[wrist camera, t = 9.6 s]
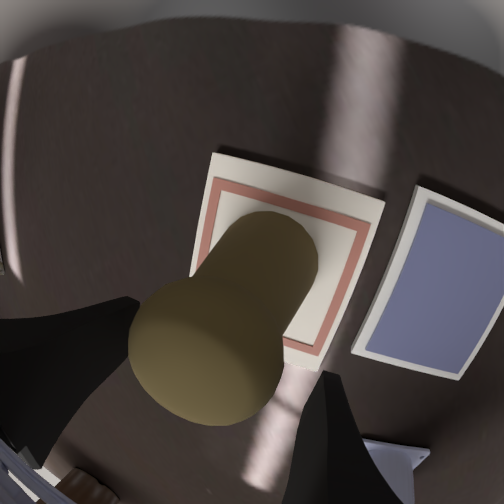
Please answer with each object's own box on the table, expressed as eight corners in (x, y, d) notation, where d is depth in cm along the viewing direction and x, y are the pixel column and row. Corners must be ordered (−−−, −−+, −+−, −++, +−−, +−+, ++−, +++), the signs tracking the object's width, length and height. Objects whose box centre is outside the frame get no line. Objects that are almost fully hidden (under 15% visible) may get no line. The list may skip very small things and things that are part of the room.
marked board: (317, 367, 20) (316, 373, 20) (185, 320, 22) (181, 324, 21) (384, 201, 16) (385, 202, 15) (216, 152, 18) (212, 152, 17)
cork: (207, 220, 18) (73, 298, 8) (308, 201, 16) (259, 281, 6) (232, 311, 20) (143, 436, 10) (325, 302, 18) (300, 456, 8)
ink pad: (456, 374, 17) (459, 383, 17) (350, 346, 19) (351, 355, 18) (526, 236, 13) (534, 240, 13) (415, 184, 15) (420, 186, 14)
